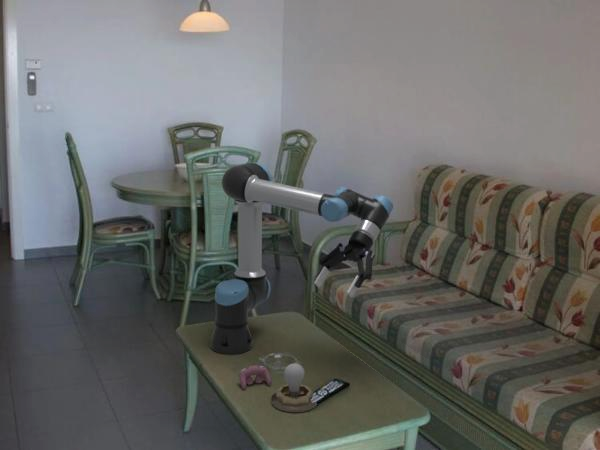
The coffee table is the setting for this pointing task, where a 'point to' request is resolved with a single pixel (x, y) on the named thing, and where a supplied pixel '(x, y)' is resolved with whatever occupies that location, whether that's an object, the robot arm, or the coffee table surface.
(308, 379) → the coffee table surface
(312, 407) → the socket
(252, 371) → the video game controller
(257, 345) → the coffee table surface
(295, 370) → the lightbulb
